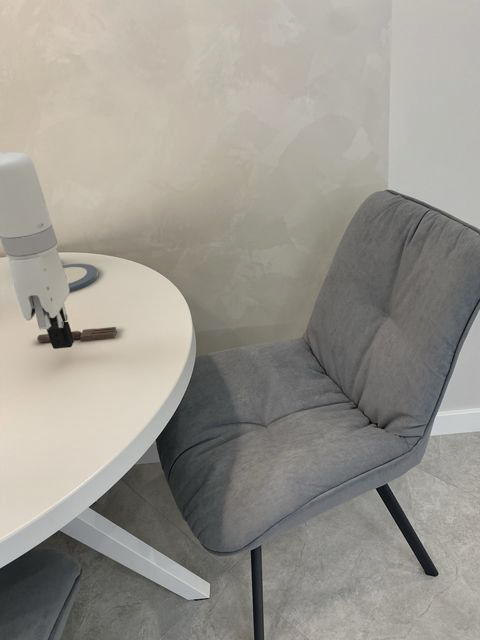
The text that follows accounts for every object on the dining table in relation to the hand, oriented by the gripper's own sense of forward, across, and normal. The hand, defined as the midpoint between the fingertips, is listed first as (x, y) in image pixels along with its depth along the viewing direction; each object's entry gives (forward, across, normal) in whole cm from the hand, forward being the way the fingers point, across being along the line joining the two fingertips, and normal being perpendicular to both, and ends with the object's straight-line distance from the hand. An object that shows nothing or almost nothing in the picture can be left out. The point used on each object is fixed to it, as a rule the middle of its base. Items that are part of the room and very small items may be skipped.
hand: (63, 345), depth 91 cm
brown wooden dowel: (+3, -7, 0) cm, 7 cm away
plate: (+3, -34, -9) cm, 35 cm away
